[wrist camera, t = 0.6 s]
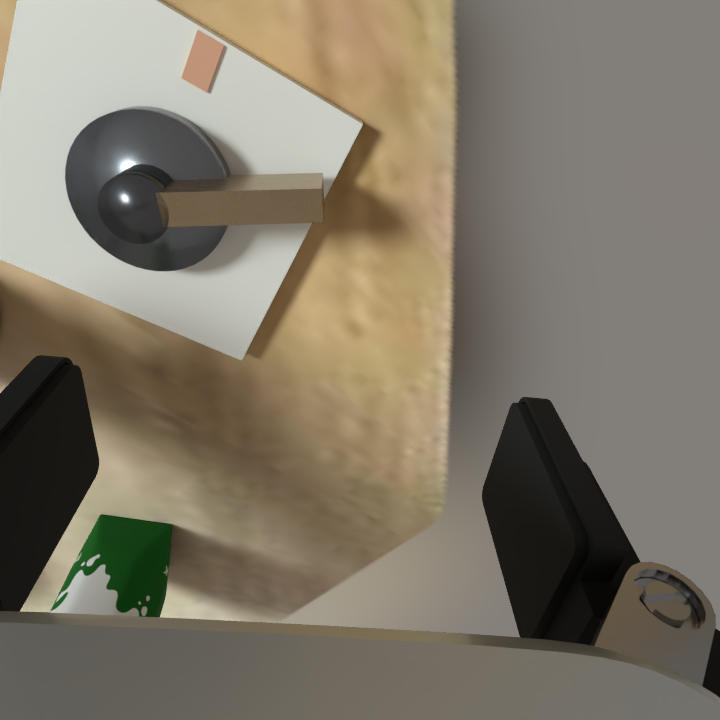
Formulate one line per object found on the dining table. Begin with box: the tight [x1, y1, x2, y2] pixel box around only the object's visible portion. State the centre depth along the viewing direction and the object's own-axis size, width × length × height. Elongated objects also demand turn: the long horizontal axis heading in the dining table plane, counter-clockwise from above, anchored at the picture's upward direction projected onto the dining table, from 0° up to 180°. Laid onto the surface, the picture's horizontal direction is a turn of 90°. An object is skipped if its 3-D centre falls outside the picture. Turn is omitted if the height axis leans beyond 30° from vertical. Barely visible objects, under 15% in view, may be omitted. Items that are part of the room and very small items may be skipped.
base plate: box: [0, 0, 363, 361], centre depth 35 cm, size 20×20×2 cm
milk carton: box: [50, 515, 172, 617], centre depth 47 cm, size 9×9×20 cm
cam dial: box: [65, 106, 325, 271], centre depth 33 cm, size 16×10×5 cm, turn 91°
